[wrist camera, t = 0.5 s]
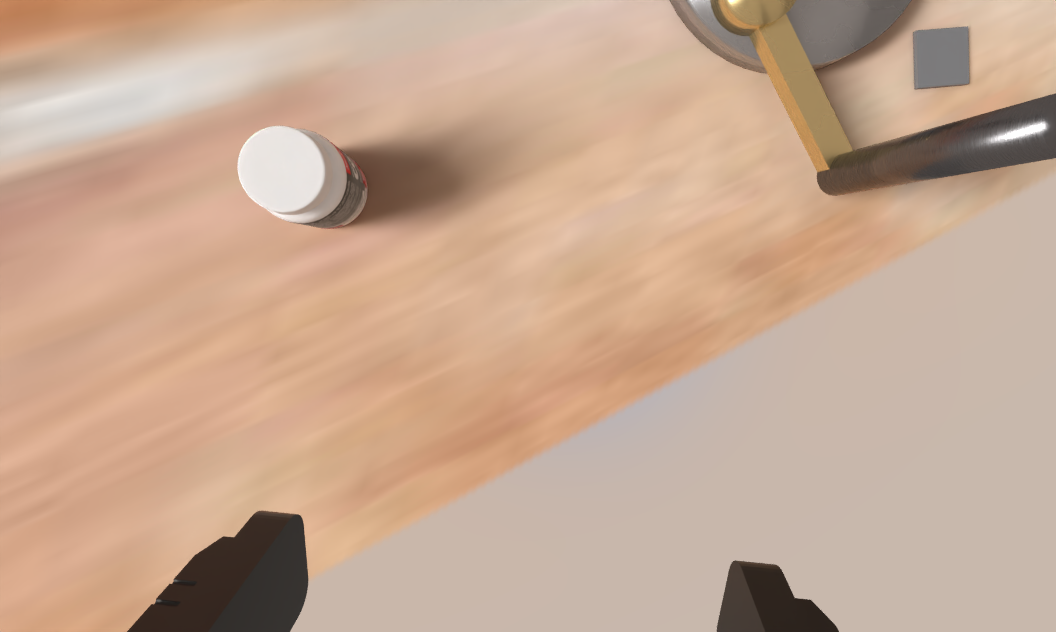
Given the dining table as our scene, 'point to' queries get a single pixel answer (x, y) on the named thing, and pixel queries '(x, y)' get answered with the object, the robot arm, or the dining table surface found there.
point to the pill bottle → (302, 177)
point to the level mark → (941, 57)
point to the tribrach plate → (799, 29)
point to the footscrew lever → (956, 148)
